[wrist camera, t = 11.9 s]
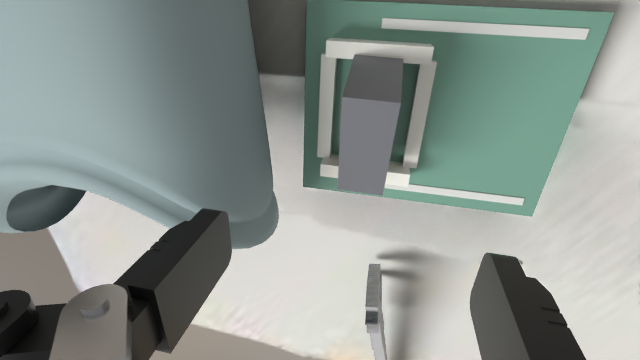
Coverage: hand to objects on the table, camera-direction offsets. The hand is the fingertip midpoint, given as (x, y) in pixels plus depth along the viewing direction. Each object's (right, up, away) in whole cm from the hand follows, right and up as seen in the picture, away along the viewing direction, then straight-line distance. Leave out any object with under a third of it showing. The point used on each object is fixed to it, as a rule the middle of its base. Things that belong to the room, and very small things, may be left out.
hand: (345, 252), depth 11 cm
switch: (+2, +8, +8) cm, 12 cm away
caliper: (+6, -14, +27) cm, 31 cm away
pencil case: (-14, +9, +18) cm, 25 cm away
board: (+7, +7, +14) cm, 17 cm away
